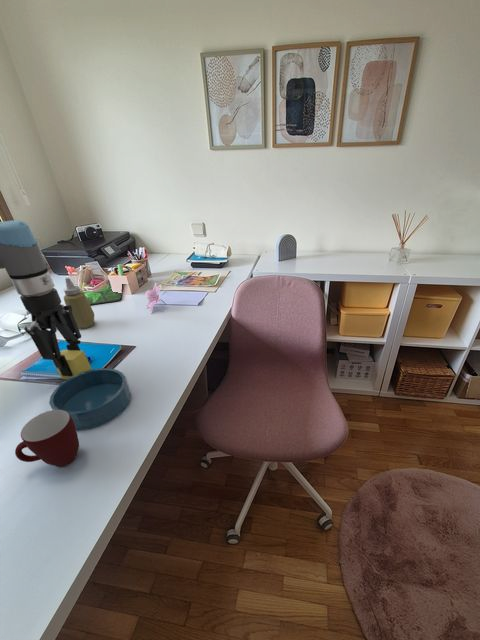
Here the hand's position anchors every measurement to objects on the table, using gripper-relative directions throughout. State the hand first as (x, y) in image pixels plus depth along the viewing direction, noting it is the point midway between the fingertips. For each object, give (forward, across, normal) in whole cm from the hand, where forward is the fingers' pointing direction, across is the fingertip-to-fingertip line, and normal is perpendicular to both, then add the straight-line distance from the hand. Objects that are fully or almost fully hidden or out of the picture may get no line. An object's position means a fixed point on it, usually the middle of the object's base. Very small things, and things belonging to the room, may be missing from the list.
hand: (73, 369), depth 84 cm
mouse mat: (+2, +57, +30) cm, 64 cm away
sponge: (+2, 0, 0) cm, 2 cm away
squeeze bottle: (+2, +28, +16) cm, 32 cm away
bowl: (+2, -10, -13) cm, 17 cm away
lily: (+2, +45, -4) cm, 45 cm away
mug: (+2, -27, -16) cm, 31 cm away
